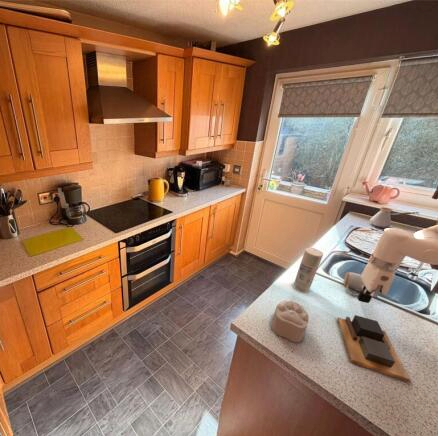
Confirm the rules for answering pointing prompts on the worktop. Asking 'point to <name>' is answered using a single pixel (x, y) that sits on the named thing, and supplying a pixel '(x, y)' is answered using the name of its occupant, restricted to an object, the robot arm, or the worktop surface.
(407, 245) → the robot arm
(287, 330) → the lumpy-topped squat cylinder
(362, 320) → the dark grey square block
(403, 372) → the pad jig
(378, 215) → the coffee pot
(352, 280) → the ceramic mug
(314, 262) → the spray can
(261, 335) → the worktop surface
